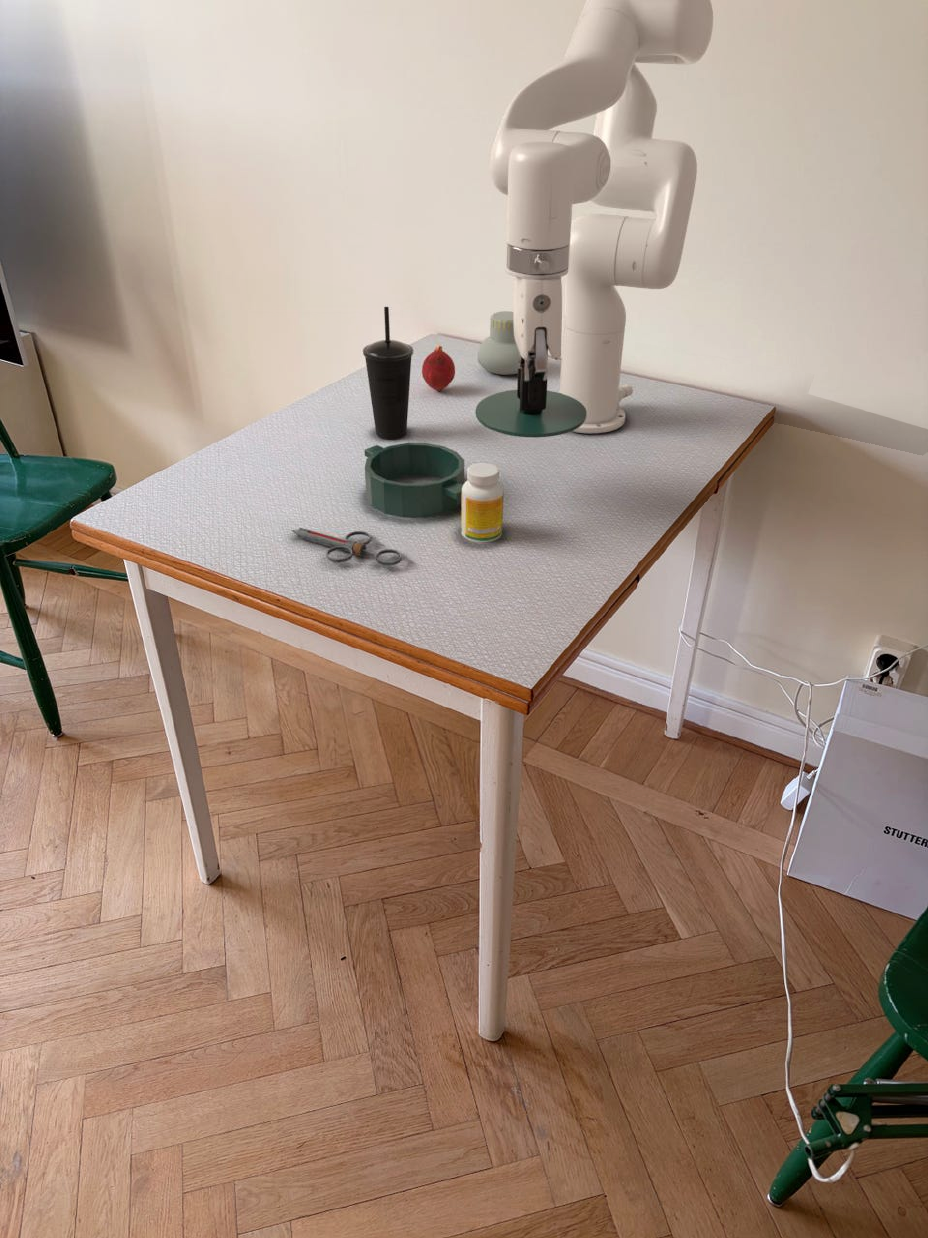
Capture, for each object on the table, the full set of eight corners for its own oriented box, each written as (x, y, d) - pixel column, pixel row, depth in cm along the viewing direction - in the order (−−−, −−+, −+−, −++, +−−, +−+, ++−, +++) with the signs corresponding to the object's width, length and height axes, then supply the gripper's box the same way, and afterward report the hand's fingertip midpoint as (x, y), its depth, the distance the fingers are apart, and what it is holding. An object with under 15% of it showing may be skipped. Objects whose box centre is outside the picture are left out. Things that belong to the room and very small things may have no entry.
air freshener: (495, 357, 180) (496, 304, 174) (536, 363, 177) (539, 310, 171) (473, 376, 171) (473, 321, 166) (515, 383, 169) (517, 327, 163)
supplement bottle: (454, 530, 125) (454, 464, 119) (490, 522, 127) (492, 456, 121) (472, 549, 121) (473, 482, 115) (509, 540, 123) (511, 473, 117)
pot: (406, 461, 142) (405, 429, 139) (497, 504, 131) (499, 470, 128) (335, 490, 134) (332, 456, 131) (426, 538, 123) (425, 502, 120)
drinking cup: (418, 424, 153) (415, 300, 142) (411, 444, 147) (408, 316, 136) (372, 422, 154) (365, 298, 142) (363, 442, 148) (355, 314, 136)
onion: (454, 397, 163) (454, 352, 158) (421, 397, 163) (420, 351, 159) (455, 385, 168) (455, 340, 163) (423, 384, 168) (422, 340, 163)
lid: (526, 388, 133) (528, 338, 129) (608, 418, 124) (613, 366, 120) (452, 418, 125) (452, 366, 120) (535, 452, 116) (537, 398, 112)
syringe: (299, 520, 127) (298, 509, 126) (415, 552, 120) (415, 540, 119) (264, 546, 121) (262, 534, 120) (384, 581, 114) (383, 569, 114)
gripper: (581, 277, 106) (570, 428, 117) (557, 239, 119) (549, 379, 130) (515, 278, 106) (510, 430, 116) (498, 241, 119) (495, 380, 130)
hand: (531, 402), depth 123 cm, fingers closed on lid, 3 cm apart
